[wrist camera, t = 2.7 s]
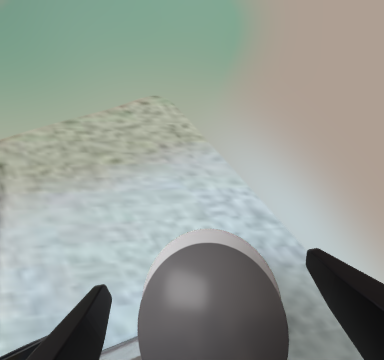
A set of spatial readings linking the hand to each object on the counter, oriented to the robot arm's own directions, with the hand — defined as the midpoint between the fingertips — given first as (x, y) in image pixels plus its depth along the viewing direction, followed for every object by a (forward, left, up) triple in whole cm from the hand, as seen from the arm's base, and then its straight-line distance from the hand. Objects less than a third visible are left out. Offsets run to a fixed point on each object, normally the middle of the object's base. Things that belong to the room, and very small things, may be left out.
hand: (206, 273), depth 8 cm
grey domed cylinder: (-1, 0, -7) cm, 7 cm away
